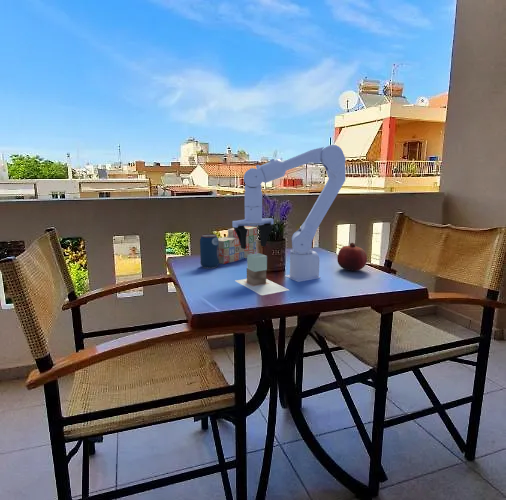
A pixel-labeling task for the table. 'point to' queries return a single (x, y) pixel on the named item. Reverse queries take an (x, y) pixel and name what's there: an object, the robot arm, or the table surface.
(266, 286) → the build mat
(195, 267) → the table surface
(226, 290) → the table surface
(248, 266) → the sage block
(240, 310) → the table surface
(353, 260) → the fruit
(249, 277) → the walnut block
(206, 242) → the soda can
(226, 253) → the stack of blocks
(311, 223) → the robot arm
